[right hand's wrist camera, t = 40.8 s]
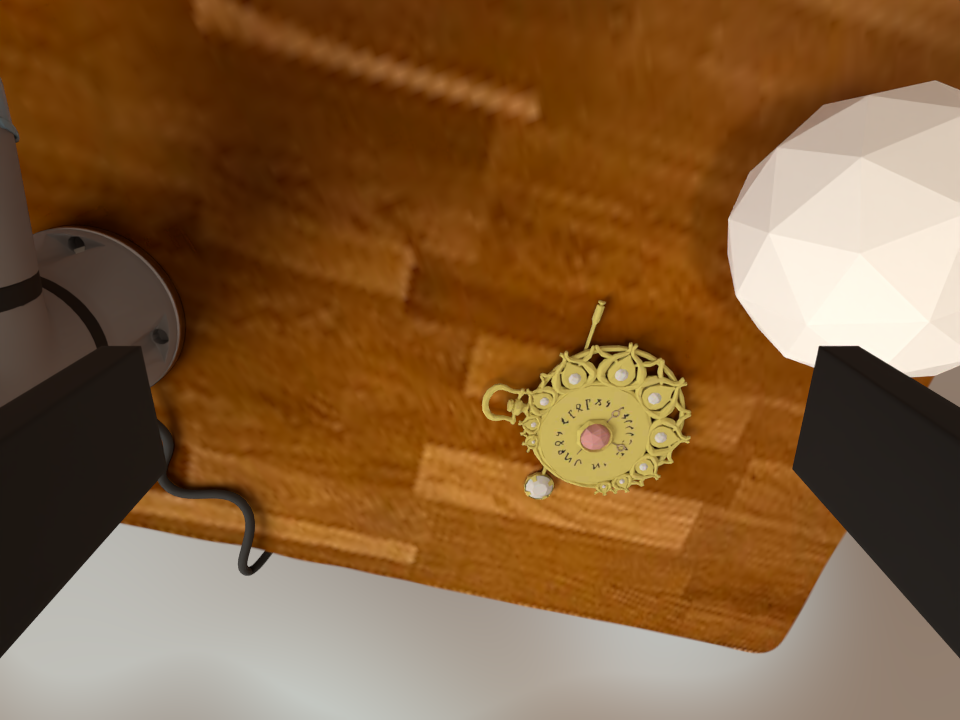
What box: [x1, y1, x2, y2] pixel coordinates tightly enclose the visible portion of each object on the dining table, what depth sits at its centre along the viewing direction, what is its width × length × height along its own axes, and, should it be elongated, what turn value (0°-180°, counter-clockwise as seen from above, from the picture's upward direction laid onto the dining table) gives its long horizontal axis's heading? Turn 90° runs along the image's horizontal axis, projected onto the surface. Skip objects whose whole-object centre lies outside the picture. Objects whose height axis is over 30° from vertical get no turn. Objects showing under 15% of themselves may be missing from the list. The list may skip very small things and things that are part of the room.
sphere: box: [728, 80, 960, 377], centre depth 42 cm, size 19×20×20 cm
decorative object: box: [482, 300, 691, 499], centre depth 56 cm, size 21×2×20 cm
